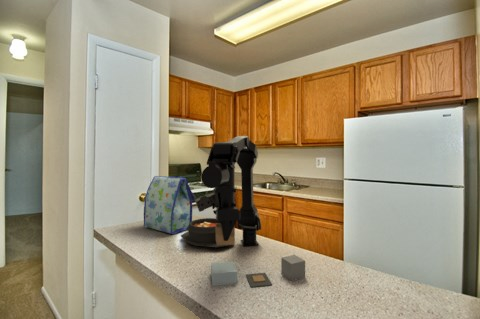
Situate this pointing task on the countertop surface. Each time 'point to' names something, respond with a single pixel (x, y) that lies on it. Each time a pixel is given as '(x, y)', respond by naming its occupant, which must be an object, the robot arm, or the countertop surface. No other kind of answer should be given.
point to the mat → (258, 280)
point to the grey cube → (293, 267)
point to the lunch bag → (168, 204)
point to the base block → (224, 273)
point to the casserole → (202, 233)
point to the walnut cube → (220, 236)
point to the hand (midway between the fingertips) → (224, 237)
